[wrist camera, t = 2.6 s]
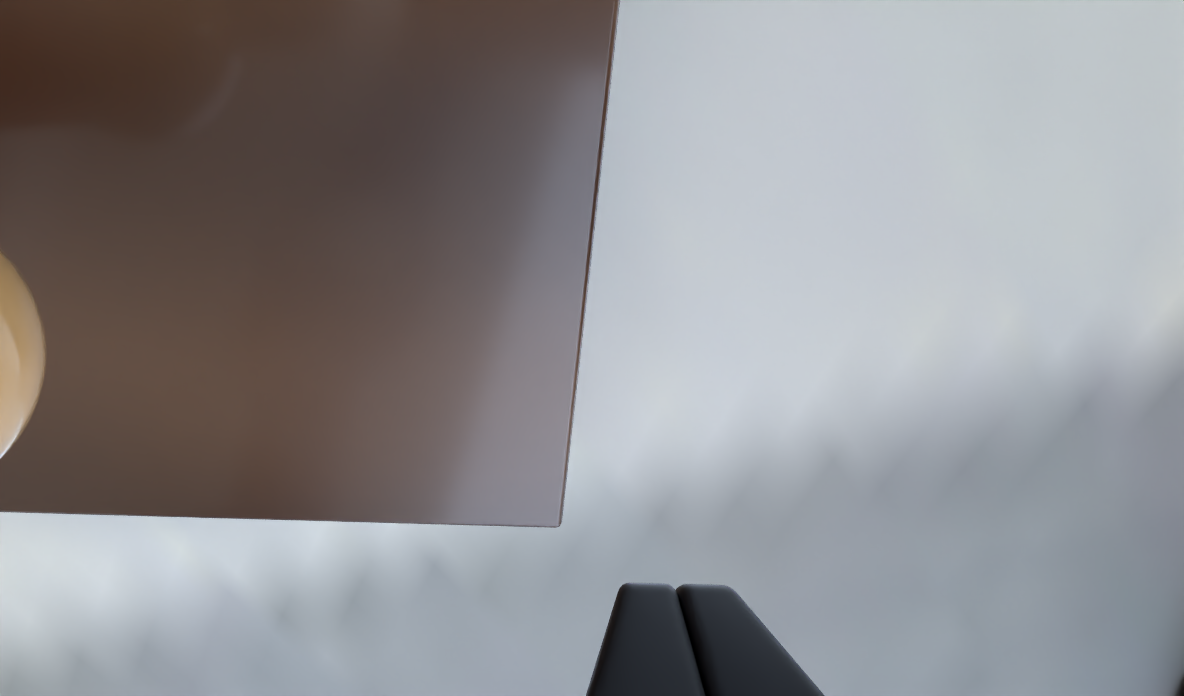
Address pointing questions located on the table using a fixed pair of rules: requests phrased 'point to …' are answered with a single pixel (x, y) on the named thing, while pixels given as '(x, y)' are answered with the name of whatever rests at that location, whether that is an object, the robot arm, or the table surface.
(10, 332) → the bottle
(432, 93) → the riser
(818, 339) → the table surface
